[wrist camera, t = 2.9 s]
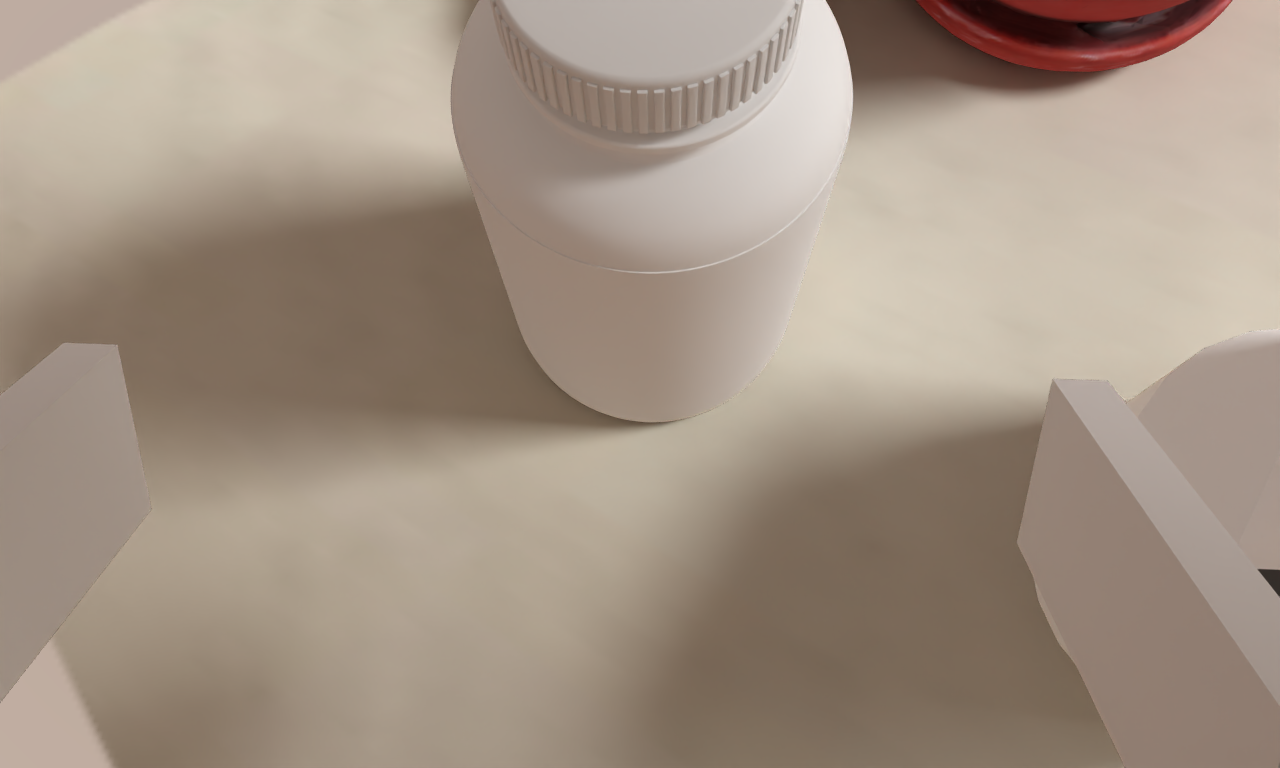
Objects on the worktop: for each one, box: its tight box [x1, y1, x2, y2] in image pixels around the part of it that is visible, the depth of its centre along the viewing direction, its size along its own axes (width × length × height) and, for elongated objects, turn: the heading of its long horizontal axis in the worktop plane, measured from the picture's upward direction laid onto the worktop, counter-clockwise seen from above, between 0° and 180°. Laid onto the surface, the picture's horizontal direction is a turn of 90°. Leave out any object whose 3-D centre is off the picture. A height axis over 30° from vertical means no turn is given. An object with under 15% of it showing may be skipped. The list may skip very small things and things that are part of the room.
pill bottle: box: [451, 0, 853, 422], centre depth 25 cm, size 8×8×15 cm
